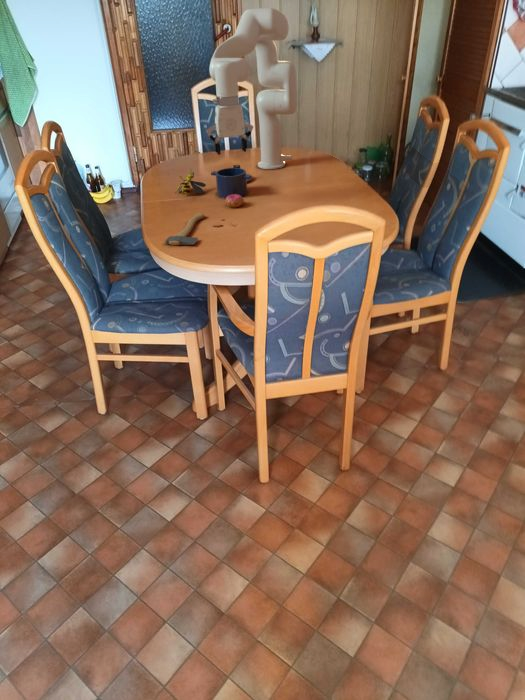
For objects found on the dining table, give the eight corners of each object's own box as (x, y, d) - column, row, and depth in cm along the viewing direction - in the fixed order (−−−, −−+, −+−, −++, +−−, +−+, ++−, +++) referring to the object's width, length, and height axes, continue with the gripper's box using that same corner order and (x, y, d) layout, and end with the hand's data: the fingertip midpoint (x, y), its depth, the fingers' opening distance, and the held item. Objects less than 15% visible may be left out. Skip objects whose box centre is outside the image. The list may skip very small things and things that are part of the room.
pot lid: (232, 174, 234) (230, 160, 230) (257, 177, 229) (257, 163, 225) (217, 183, 225) (215, 168, 221) (243, 186, 220) (242, 171, 216)
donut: (241, 201, 205) (240, 191, 202) (246, 207, 199) (245, 197, 197) (223, 204, 203) (222, 194, 201) (227, 209, 197) (227, 200, 195)
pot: (221, 186, 220) (219, 166, 215) (258, 191, 214) (257, 170, 209) (206, 195, 212) (204, 174, 207) (244, 200, 205) (242, 178, 200)
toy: (162, 181, 205) (180, 167, 216) (166, 202, 210) (184, 187, 221) (189, 184, 201) (206, 169, 212) (192, 204, 207) (209, 189, 217)
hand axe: (193, 242, 170) (164, 240, 172) (194, 247, 170) (165, 245, 173) (217, 212, 191) (191, 211, 193) (218, 217, 192) (191, 216, 194)
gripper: (206, 105, 179) (210, 157, 188) (254, 100, 183) (257, 151, 193) (201, 102, 185) (206, 152, 194) (248, 97, 189) (250, 147, 198)
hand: (231, 152), depth 193 cm, fingers open, 9 cm apart
